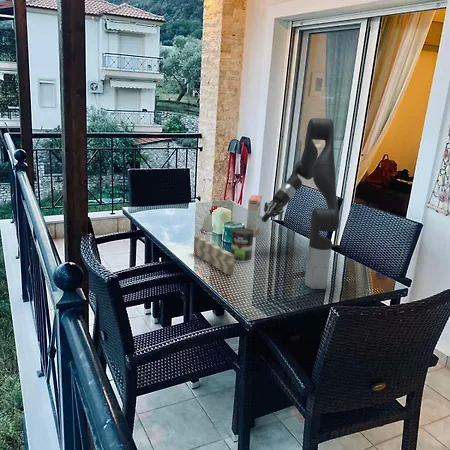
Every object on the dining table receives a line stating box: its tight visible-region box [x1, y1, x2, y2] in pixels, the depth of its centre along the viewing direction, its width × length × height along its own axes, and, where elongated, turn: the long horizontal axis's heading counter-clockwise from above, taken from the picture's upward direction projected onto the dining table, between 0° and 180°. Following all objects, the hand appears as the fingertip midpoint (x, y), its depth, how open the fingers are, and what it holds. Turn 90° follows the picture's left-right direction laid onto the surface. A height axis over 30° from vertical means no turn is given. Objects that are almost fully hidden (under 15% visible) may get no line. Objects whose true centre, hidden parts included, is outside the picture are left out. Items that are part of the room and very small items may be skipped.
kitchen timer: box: [201, 205, 218, 232], centre depth 256 cm, size 14×14×15 cm
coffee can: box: [230, 227, 254, 263], centre depth 216 cm, size 10×10×14 cm
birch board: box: [193, 235, 235, 276], centre depth 208 cm, size 30×2×9 cm, turn 34°
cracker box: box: [245, 194, 262, 238], centre depth 257 cm, size 14×6×21 cm, turn 168°
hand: (263, 220), depth 220 cm, fingers closed
